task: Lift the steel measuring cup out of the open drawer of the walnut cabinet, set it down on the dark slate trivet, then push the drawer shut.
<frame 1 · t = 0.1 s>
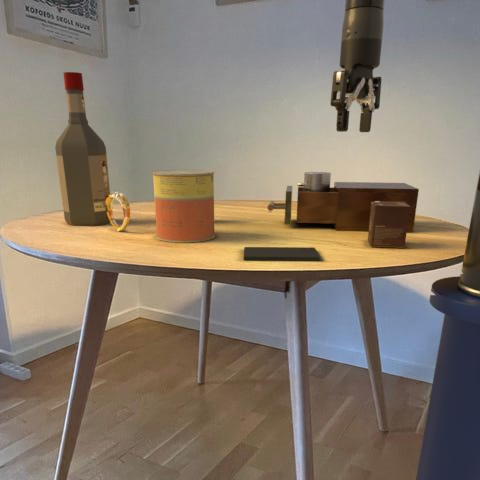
hand: (353, 131, 94), 19 cm above the table, tool pointing down, fingers open, 8 cm apart
cabinet: (369, 225, 103), on the table
ring: (119, 232, 96), on the table
trivet: (280, 255, 76), on the table
box: (385, 245, 85), on the table
liquor: (89, 223, 106), on the table
canned food: (186, 237, 91), on the table
drawer: (310, 204, 103), point 4 cm above the table, slide at 9.5 cm, touching measuring cup
measuring cup: (315, 215, 103), point 2 cm above the table, touching drawer
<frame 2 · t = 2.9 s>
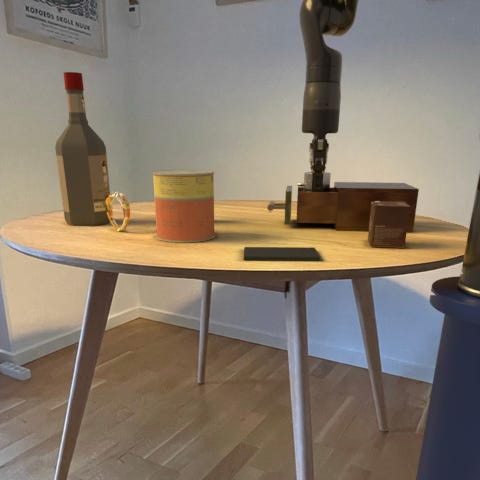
hand: (316, 190, 101), 7 cm above the table, tool pointing down, fingers open, 8 cm apart
drawer: (310, 204, 103), point 4 cm above the table, slide at 9.5 cm, touching gripper, measuring cup
everything else where it was.
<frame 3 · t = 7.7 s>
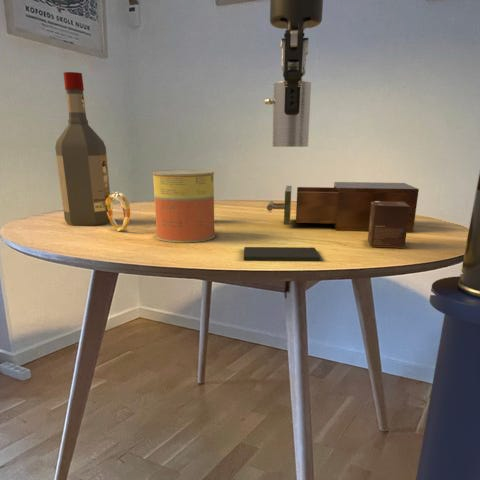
hand: (292, 115, 72), 21 cm above the table, tool pointing down, fingers closed on measuring cup, 5 cm apart
drawer: (309, 204, 103), point 4 cm above the table, slide at 9.7 cm
measuring cup: (290, 146, 74), point 17 cm above the table, touching gripper
everything else where it was.
when the fingers open (5 cm above the table, at t = 12.1 s): measuring cup stays where it is, resting on trivet.
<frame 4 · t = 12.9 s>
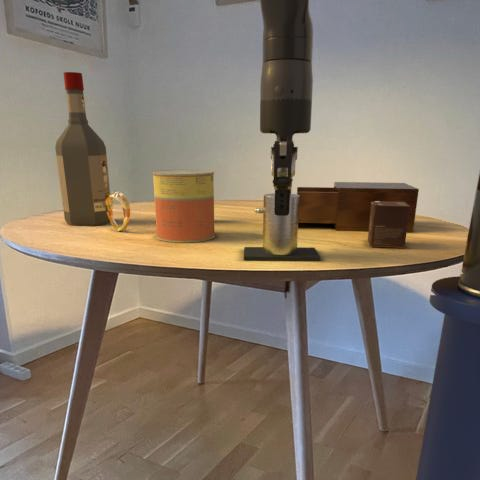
hand: (282, 211, 74), 7 cm above the table, tool pointing down, fingers open, 8 cm apart
measuring cup: (279, 251, 76), point 1 cm above the table, touching trivet
everything else where it was.
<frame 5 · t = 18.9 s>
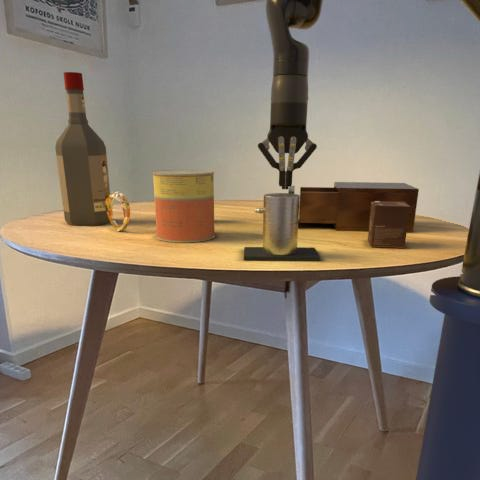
hand: (285, 188, 102), 8 cm above the table, tool pointing down, fingers closed
drawer: (312, 204, 103), point 4 cm above the table, slide at 9.0 cm, touching gripper
everything else where it was.
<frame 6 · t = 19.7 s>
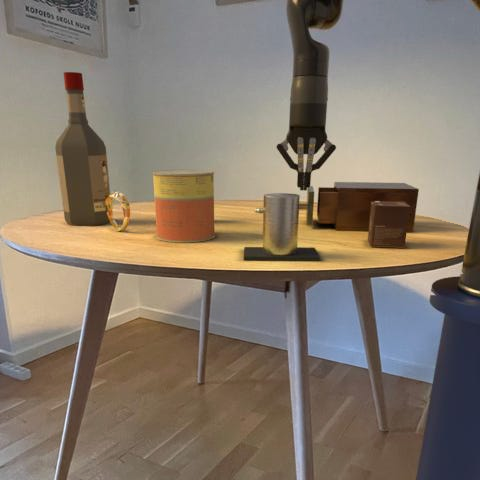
hand: (303, 190, 102), 7 cm above the table, tool pointing down, fingers closed
drawer: (331, 205, 102), point 4 cm above the table, slide at 4.9 cm, touching gripper
everything else where it was.
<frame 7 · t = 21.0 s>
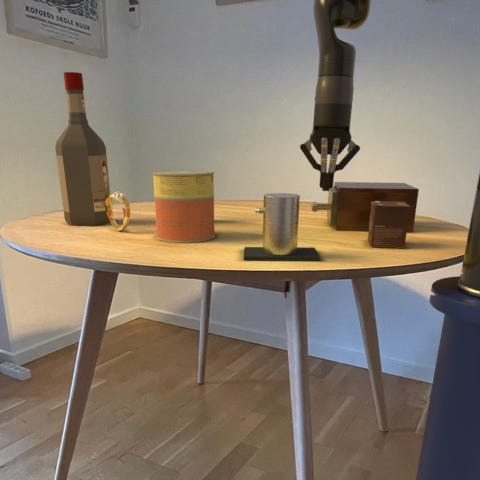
hand: (325, 190, 101), 7 cm above the table, tool pointing down, fingers closed
drawer: (354, 205, 102), point 4 cm above the table, slide at 0.0 cm, touching cabinet, gripper
everything else where it was.
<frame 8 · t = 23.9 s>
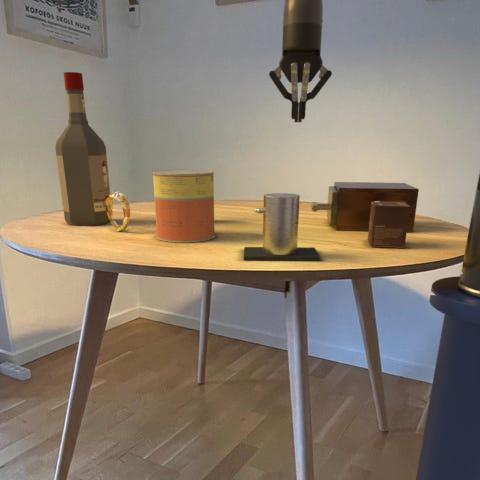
hand: (298, 122, 97), 21 cm above the table, tool pointing down, fingers closed
drawer: (354, 205, 102), point 4 cm above the table, slide at 0.0 cm, touching cabinet
everything else where it was.
at the end: measuring cup inside the target area on the trivet (0.1 cm from its centre), point 0.6 cm above the trivet's base; measuring cup tilted 0°; drawer slide at 0.0 cm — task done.
